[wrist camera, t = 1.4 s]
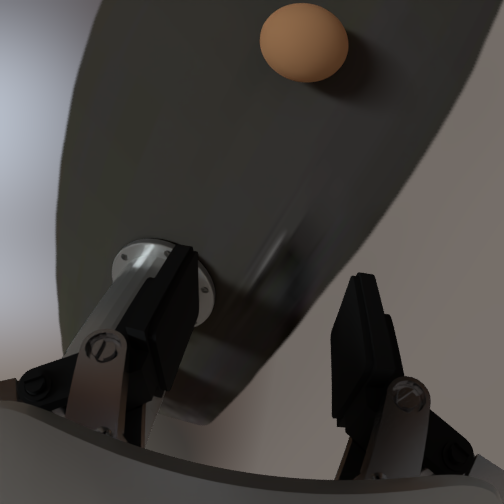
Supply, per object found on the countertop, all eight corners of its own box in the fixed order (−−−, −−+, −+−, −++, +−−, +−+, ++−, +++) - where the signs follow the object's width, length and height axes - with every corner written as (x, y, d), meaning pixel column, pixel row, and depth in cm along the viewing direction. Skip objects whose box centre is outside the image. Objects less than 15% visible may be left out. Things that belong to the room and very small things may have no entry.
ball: (325, 93, 22) (333, 99, 17) (254, 65, 21) (240, 63, 16) (353, 30, 18) (369, 18, 13) (280, 1, 18) (274, -19, 13)
